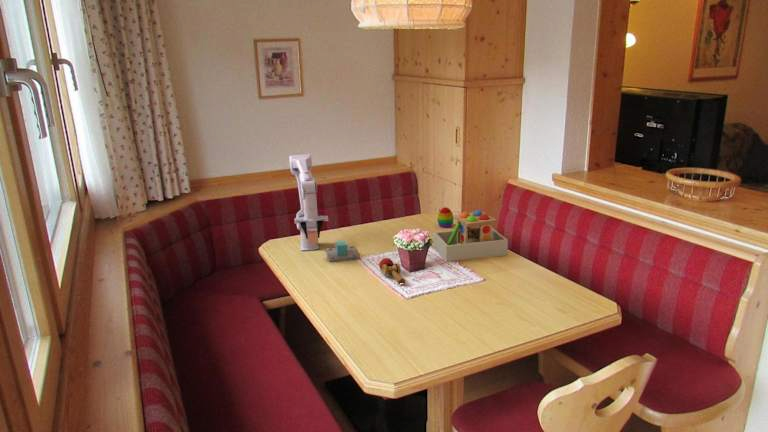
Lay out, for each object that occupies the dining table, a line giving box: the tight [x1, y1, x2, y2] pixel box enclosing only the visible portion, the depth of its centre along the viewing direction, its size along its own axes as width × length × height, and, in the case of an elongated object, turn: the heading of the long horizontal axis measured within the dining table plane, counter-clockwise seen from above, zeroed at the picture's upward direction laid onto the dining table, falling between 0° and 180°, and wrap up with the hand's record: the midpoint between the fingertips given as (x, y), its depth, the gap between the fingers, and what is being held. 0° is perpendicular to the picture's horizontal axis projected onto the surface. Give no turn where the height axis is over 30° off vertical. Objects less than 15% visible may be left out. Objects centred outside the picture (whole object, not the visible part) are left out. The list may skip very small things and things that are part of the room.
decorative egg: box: [437, 207, 455, 229], centre depth 279 cm, size 8×8×10 cm
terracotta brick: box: [307, 229, 319, 244], centre depth 240 cm, size 6×4×4 cm
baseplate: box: [325, 245, 360, 263], centre depth 246 cm, size 14×13×2 cm
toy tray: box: [433, 227, 509, 263], centre depth 245 cm, size 19×28×7 cm
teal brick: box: [335, 240, 348, 255], centre depth 245 cm, size 6×4×4 cm
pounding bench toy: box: [447, 209, 497, 245], centre depth 242 cm, size 23×14×18 cm, turn 109°
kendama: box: [378, 257, 406, 285], centre depth 220 cm, size 8×6×18 cm
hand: (312, 237), depth 240 cm, fingers closed on terracotta brick, 4 cm apart
